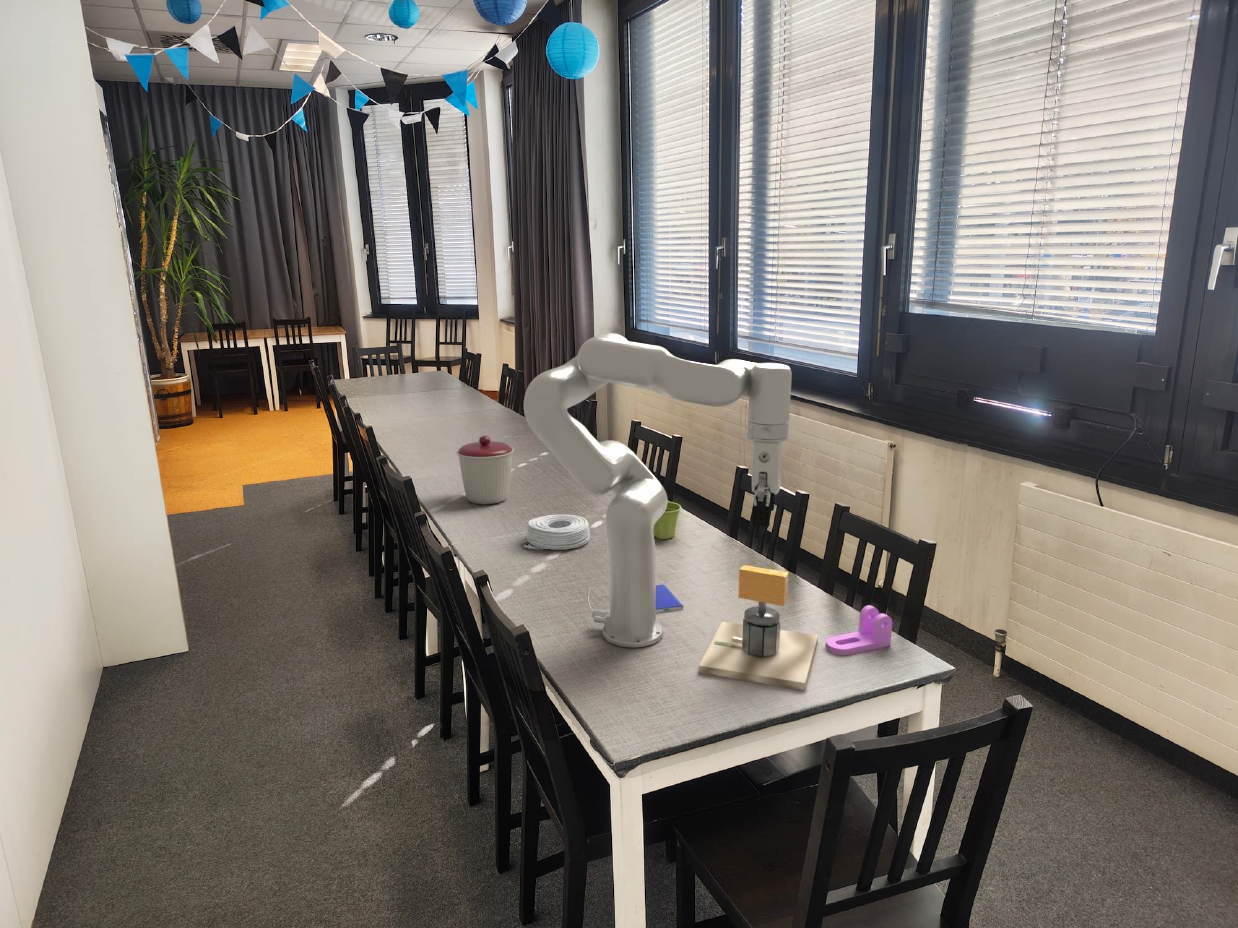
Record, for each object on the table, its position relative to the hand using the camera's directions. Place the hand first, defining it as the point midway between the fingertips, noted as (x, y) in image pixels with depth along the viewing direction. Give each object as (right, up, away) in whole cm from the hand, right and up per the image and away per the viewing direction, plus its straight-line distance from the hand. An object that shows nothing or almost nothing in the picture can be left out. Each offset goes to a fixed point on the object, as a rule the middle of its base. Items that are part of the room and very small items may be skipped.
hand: (763, 517), depth 158 cm
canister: (-70, -1, +107) cm, 128 cm away
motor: (0, -26, +6) cm, 27 cm away
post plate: (+1, -28, +6) cm, 29 cm away
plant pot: (-15, -10, +74) cm, 76 cm away
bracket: (+21, -27, +11) cm, 36 cm away
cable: (-44, -11, +71) cm, 84 cm away
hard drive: (-19, -22, +32) cm, 43 cm away
